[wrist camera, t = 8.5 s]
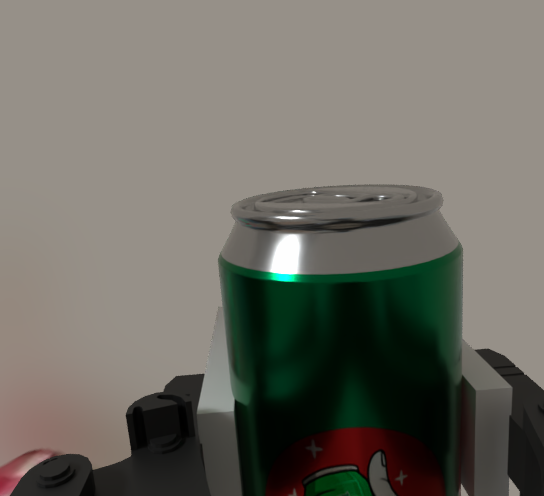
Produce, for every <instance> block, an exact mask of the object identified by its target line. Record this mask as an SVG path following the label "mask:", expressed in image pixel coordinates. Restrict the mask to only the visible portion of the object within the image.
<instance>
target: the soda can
mask: <svg viewBox="0 0 544 496" xmlns="http://www.w3.org/2000/svg"><path fill="white" fill-rule="evenodd" d="M442 204H443V198H442V194H441V193H440V192H439V191H436V190H433V189H429V188H424V187H418V186H407V185H406V186H405V185H343V186H328V187H314V188H304V189H295V190H287V191H280V192H274V193H268V194H262V195H258V196H253V197H250V198H246V199H243V200H241V201H239V202H237V203H235V204H233V205H232V209H231V214H232V217H233V218H234V219H235V221H236V222H235V224H234V227H233V229H232V231H231V233H230V235H229V237H228V239H227V241H226V243H225V245H224V247H223V249H222V251H221V253H220V255H219V258H218V265H219V276H220V285H221V295H222V305H223V315H224V325H225V334H226V344H227V354H228V364H229V374H230V383H231V390H232V394H233V397H234V398H235V408H236V418H237V428H238V438H239V448H240V459H241V469H242V479H243V489H244V496H461V410H462V298H463V297H462V295H463V291H462V290H463V248H462V245H461V243H460V242H459V240H458V239H457V237H456V236H455V235H454V233H453V231H452V230H451V229H450V227H449V226H448V224H447V222H446V221H445V219H444V218H443V216H442V214H441V213H440V211H439V209H440V208H441V206H442Z"/></svg>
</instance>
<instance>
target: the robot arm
mask: <svg viewBox="0 0 544 496" xmlns="http://www.w3.org/2000/svg"><path fill="white" fill-rule="evenodd" d="M126 419H127V426H128V432H129V438H130V445H131V454H132V455H131V457H129V458H127V459H125V460H123V461H121V462H118V463H115V464H112V465H109V466H106V467H102V468H99V469H95V470H92V464H91V462H90V461H89V459H88V458H87V457H84V456H82V455H79V454H66V455H61V456H55V457H51V458H50V459H46V460H44V461H42V462H41V463H39V464H37V465H36V466H34V467H33V468H31V469H30V470H29V471H28V472H27V473H26V474H25V475H24V476H23V477H22V478H21V480H20V481H19V483H18V484H17V486H16V487H15V489H14V490H13V492H12V493H11V495H10V496H244V489H243V479H242V469H241V459H240V448H239V438H238V428H237V418H236V408H235V398H234V397H233V394H232V390H231V383H230V374H229V364H228V354H227V344H226V334H225V325H224V315H223V307H218V312H217V317H216V322H215V326H214V332H213V336H212V341H211V346H210V351H209V356H208V361H207V365H206V371H205V374H197V375H185V376H176V377H175V378H174V379H173V380H171V381H170V382H169V383H168V384H167V385H166V386H165V389H164V392H160V393H154V394H151V395H148V396H145V397H143V398H141V399H139V400H137V401H135V402H134V403H133V404H132V405H131V406H130V407H129V408H128V410H127V413H126ZM509 477H510V479H511V480H512V481H513V483H514V484H515V485H516V487H517V488H518V489H519V491H520V496H544V390H543V389H542V388H541V387H539V386H538V385H537V384H536V383H535V382H534V381H533V380H531V379H530V378H529V377H528V376H527V375H524V373H523V372H522V371H521V370H520V369H519V368H518V367H515V365H514V364H513V363H512V362H511V361H510V360H509V359H508V358H506V357H505V356H504V355H501V354H499V353H497V352H495V351H492V350H490V349H480V350H474V349H472V347H470V346H469V345H468V344H467V343H466V342H465V341H464V340H463V339H462V410H461V483H462V485H463V487H464V488H465V490H466V492H467V493H468V495H469V496H508V495H509Z"/></svg>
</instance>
